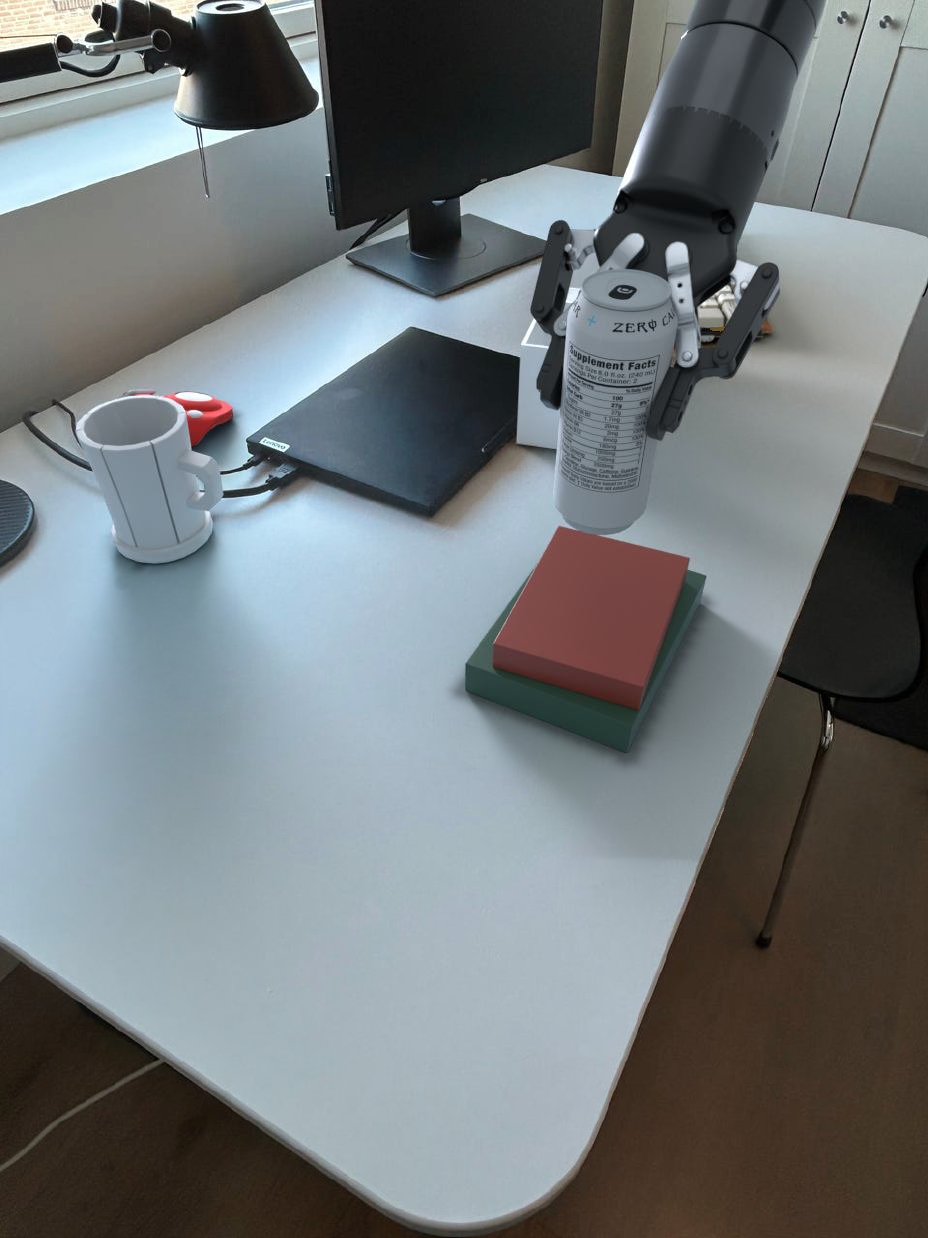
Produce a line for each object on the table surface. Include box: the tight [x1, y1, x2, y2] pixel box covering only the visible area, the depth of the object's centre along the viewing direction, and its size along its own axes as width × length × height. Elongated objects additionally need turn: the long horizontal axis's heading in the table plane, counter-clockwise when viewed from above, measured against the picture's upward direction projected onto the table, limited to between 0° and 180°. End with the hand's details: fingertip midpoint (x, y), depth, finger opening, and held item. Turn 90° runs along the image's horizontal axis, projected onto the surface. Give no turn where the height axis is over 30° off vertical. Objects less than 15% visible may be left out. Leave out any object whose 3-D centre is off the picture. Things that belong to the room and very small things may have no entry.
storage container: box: [516, 253, 599, 450], centre depth 96 cm, size 25×11×11 cm, turn 165°
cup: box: [75, 395, 224, 564], centre depth 77 cm, size 10×9×12 cm
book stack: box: [464, 525, 708, 754], centre depth 69 cm, size 18×13×6 cm
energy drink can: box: [552, 269, 678, 536], centre depth 52 cm, size 6×6×15 cm
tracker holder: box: [115, 389, 234, 447], centre depth 93 cm, size 12×4×10 cm
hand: (600, 419), depth 51 cm, fingers closed on energy drink can, 6 cm apart
